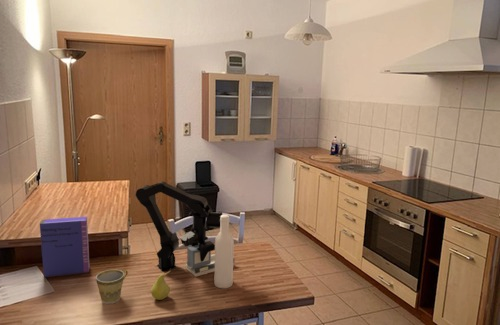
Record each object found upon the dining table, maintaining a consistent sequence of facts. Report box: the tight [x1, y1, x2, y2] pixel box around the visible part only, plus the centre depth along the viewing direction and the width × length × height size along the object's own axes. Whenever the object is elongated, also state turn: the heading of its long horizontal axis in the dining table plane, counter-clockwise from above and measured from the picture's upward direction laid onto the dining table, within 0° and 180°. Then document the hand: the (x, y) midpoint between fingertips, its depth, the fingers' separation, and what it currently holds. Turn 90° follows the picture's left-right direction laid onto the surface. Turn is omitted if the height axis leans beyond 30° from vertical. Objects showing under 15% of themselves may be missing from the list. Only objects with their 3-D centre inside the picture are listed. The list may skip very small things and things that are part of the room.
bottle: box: [213, 214, 235, 289], centre depth 154 cm, size 8×8×30 cm
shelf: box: [185, 253, 235, 277], centre depth 171 cm, size 20×10×4 cm, turn 126°
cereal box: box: [39, 216, 91, 278], centre depth 160 cm, size 17×5×24 cm, turn 108°
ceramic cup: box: [95, 268, 129, 305], centre depth 143 cm, size 13×10×10 cm
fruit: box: [151, 270, 171, 301], centre depth 144 cm, size 7×8×12 cm
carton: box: [186, 245, 212, 269], centre depth 166 cm, size 5×9×8 cm, turn 126°
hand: (199, 258), depth 167 cm, fingers closed on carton, 5 cm apart
